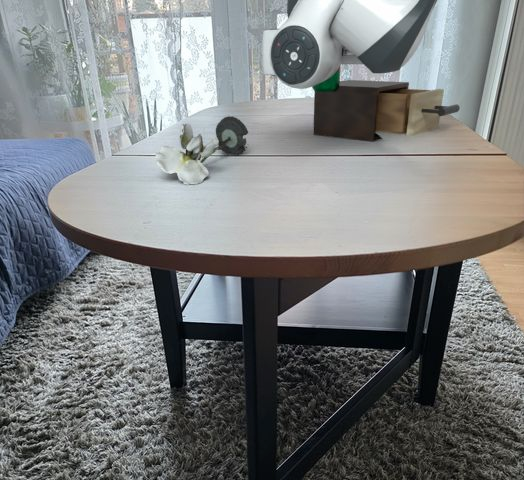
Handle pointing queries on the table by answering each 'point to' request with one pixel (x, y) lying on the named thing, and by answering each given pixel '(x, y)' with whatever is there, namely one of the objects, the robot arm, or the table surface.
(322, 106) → the cabinet
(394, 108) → the drawer
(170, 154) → the artificial flower
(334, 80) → the soda can
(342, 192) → the table surface
